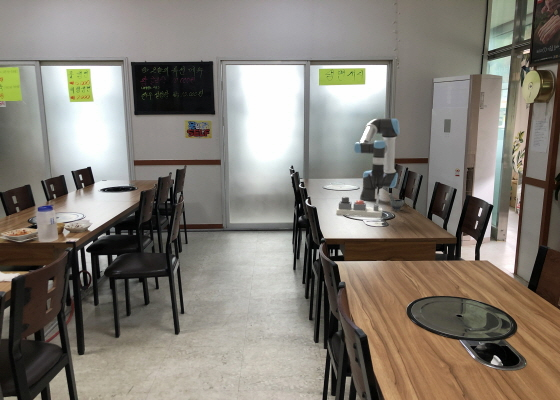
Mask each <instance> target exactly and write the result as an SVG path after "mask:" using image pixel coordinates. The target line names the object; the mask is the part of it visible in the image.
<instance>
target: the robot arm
mask: <svg viewBox="0 0 560 400" xmlns="http://www.w3.org/2000/svg"><path fill="white" fill-rule="evenodd" d="M400 130H401V129H400V121H399V120H398V118H379V117H378V118H374V119H372V120H369V122H368V123H366V125H365V126H364V130H363V131H364V132H363V134H362V136H361V138H360V139H359V141H357V142H355V143H354V147H353V148H354V149H353V150H354V153H355V154H367V155H368V154H369V155H370V154H371V155H373V156H372V168H371V170H370V169H369V170H365V171H364V172H363V176H362V190H361V194H359V195H360V196H359V200H361V201H367V202H368V201H369V202H376V200H377V195H380V189H383V188H388V189H390V188H391V189H394V188H396V186H397V182H398V177H399V173H398V172H397V170H396V169H395V159H396V158H395V155H396V154H395V153H396V138H398V136H399V135H400V134H401V132H400ZM375 135H381V138H383V140H374V142H373V141H372V140H373V138H374V137H375Z"/></svg>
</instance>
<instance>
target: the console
mask: <svg viewBox="0 0 560 400" xmlns="http://www.w3.org/2000/svg"><path fill="white" fill-rule="evenodd" d="M375 205H376V204H374V205H373V207H371V206H370V207H368V206H367V202H364V204H356V201H354V202H353V205H352V201H349V204H347V203H342V200H339V203H338V207H337V209H336V214H335V215H339V216H341V215H342V216H347V215H346V214H349V215H348V216H354V215H361V216H360V217H371V218H372V217H373V218H374V217H375V218H382V215H383V208H382V207H379V204H378V206H375Z"/></svg>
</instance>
